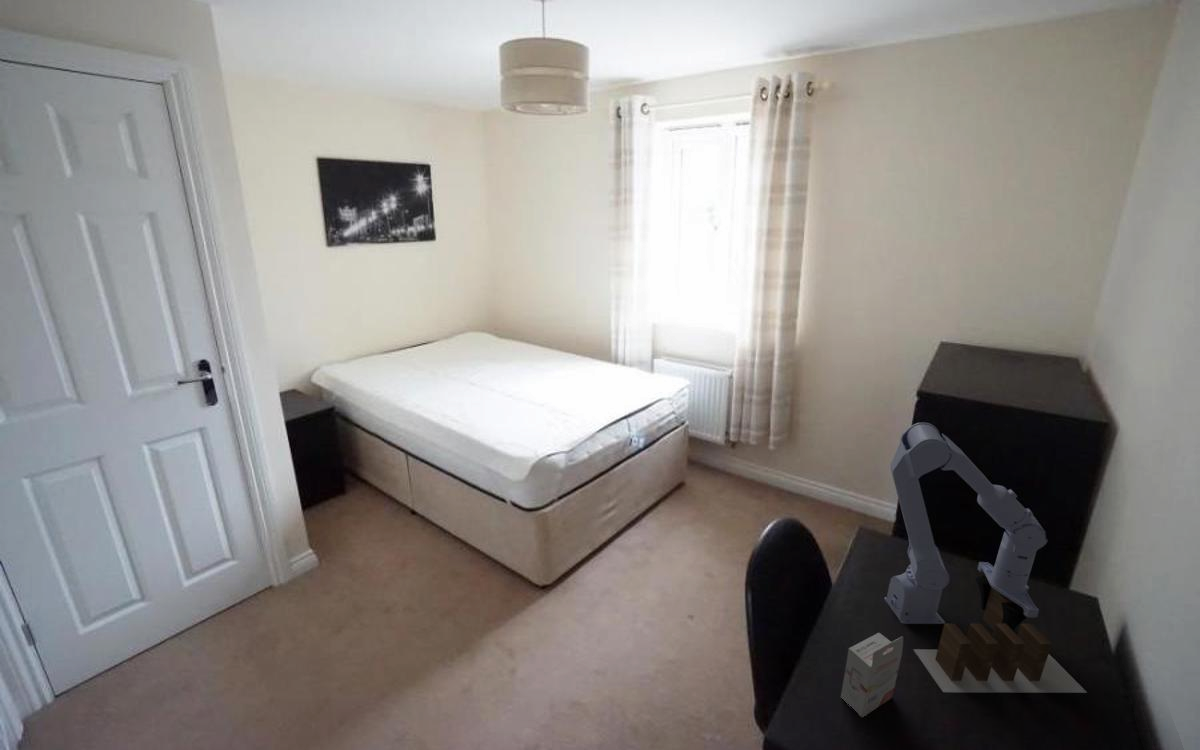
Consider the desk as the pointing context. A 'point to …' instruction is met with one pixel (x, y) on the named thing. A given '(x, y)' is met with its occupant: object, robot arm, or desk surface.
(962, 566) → the desk surface
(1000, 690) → the mat
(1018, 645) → the domino
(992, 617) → the brown wooden block
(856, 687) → the ink cartridge box
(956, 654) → the domino
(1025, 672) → the domino
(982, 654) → the domino
